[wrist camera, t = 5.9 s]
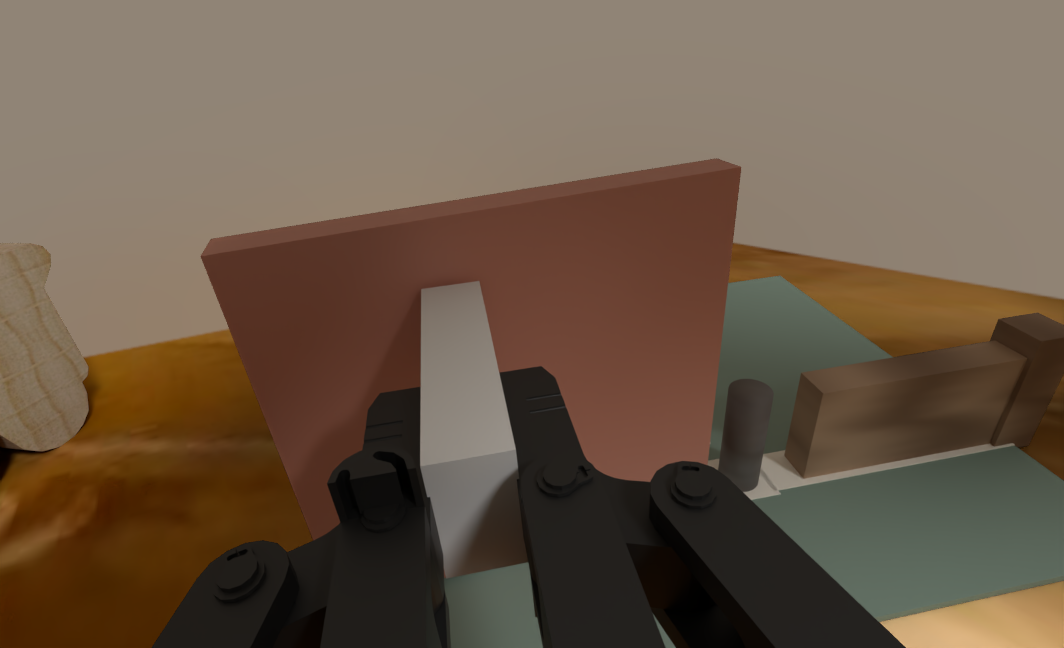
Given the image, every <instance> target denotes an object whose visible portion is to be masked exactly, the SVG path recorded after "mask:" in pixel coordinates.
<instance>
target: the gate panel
mask: <svg viewBox="0 0 1064 648" xmlns="http://www.w3.org/2000/svg"><path fill="white" fill-rule="evenodd" d="M740 173H741V167H740V166H737V165H734V164H731V163H728V162H725V161H722V160H720V159H710V160H704V161H698V162H692V163H685V164H680V165H673V166H666V167H660V168H654V169H647V170H641V171H635V172H629V173H622V174H617V175H610V176H604V177H598V178H591V179H585V180H578V181H572V182H566V183H560V184H554V185H547V186H541V187H535V188H528V189H522V190H516V191H510V192H503V193H497V194H490V195H484V196H478V197H472V198H465V199H459V200H453V201H447V202H441V203H434V204H428V205H421V206H415V207H409V208H403V209H397V210H390V211H384V212H378V213H371V214H365V215H359V216H353V217H346V218H340V219H333V220H327V221H321V222H315V223H308V224H302V225H296V226H289V227H283V228H277V229H271V230H264V231H258V232H252V233H246V234H239V235H233V236H227V237H221V238H214V239H211V240H210V241H209V243H208V245H207V246H206V248H205V250H204V251H203V253H202V255H201V259H202V261H203V263H204V266H205V269H206V271H207V274H208V276H209V279H210V281H211V284H212V286H213V289H214V291H215V294H216V296H217V299H218V301H219V304H220V307H221V309H222V311H223V314H224V317H225V319H226V321H227V324H228V327H229V329H230V332H231V334H232V337H233V339H234V342H235V344H236V347H237V349H238V352H239V354H240V357H241V359H242V362H243V364H244V367H245V369H246V372H247V375H248V377H249V380H250V382H251V385H252V387H253V390H254V392H255V395H256V397H257V400H258V402H259V405H260V407H261V410H262V412H263V415H264V417H265V420H266V422H267V425H268V427H269V430H270V432H271V435H272V438H273V440H274V443H275V445H276V448H277V450H278V453H279V455H280V458H281V460H282V463H283V465H284V468H285V470H286V473H287V475H288V478H289V480H290V483H291V485H292V488H293V490H294V493H295V495H296V498H297V501H298V503H299V506H300V508H301V511H302V513H303V516H304V518H305V521H306V523H307V526H308V528H309V531H310V533H311V536H312V538H313V541H314V540H316V539H318V538H319V537H321V536H323V535H325V534H327V533H328V532H330V531H331V530H332V529H333V528H335V527H336V526H337V525H339V524H340V520H339V517H338V514H337V511H336V508H335V506H334V503H333V500H332V497H331V494H330V491H329V489H328V486H327V482H328V480H329V478H330V476H331V473H332V471H333V470H334V469H335V468H336V467H337V466H338V465H339V464H340V463H341V462H342V461H343V460H345V459H346V458H348V457H350V456H351V455H353V454H355V453H357V452H358V451H362V448H363V444H364V434H365V430H366V420H367V413H368V409H369V407H370V406H371V405H372V403H373V402H374V400H375V399H376V398H377V396H378V395H379V394H380V393H384V392H390V391H396V390H402V389H409V388H415V387H421V289H425V288H432V287H439V286H446V285H453V284H461V283H468V282H475V281H479V282H480V286H481V291H482V296H483V300H484V305H485V309H486V314H487V319H488V323H489V328H490V333H491V337H492V342H493V346H494V351H495V356H496V360H497V365H498V369H499V373H500V372H506V371H512V370H519V369H525V368H531V367H538V366H542V367H543V368H544V369H546V370H547V371H548V372H549V373H550V374H552V375H553V376H554V377H555V378H556V381H557V383H558V386H559V389H560V392H561V396H562V397H563V400H564V402H565V405H566V408H567V410H568V413H569V416H570V419H571V421H572V424H573V427H574V429H575V432H576V435H577V437H578V440H579V443H580V446H581V448H582V451H583V454H584V455H585V457H586V459H587V461H589V462H590V463H592V464H593V466H594V467H595V469H597V470H598V471H600V472H602V473H603V474H605V475H608V476H611V477H614V478H618V479H624V480H633V481H646V482H650V481H651V479H652V478H653V476H654V474H655V473H656V471H657V470H659V469H660V468H662V467H664V466H665V465H667V464H670V463H674V462H679V461H691V462H699V463H702V464H705V465H708V456H709V447H710V439H711V430H712V421H713V412H714V403H715V395H716V386H717V377H718V368H719V359H720V350H721V342H722V333H723V324H724V315H725V306H726V298H727V289H728V280H729V271H730V262H731V254H732V245H733V236H734V227H735V218H736V210H737V200H738V192H739V183H740ZM444 578H446V575H445V571H444Z"/></svg>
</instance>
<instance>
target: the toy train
mask: <svg viewBox="0 0 1064 648" xmlns="http://www.w3.org/2000/svg"><path fill="white" fill-rule="evenodd" d="M50 257H51V256H50V253H49V252H48V251H47V250H46V249H45V248H44V247H43V246H39V245H35V244H31V243H29V244H26V243H25V244H24V243H16V244H15V243H0V448H11V449H21V450H32V451H46V450H50V449H54V448H58V447H60V446H61V445H63V444H64V443H66V442H67V441H68V440H70V439H71V438H72V437H74V436H75V435H76V433H77V432H78V431H79V429H80V428H81V427H82V425H83V424H84V421H85V419H86V416H87V413H88V411H89V407H88V397H87V392H86V389H85V387H84V385H83V383H82V381H83V380H84V379H85V378H86V377H87V376H88V365H87V364H86V362H85V360H84V358H83V357H82V355H81V353H80V351H79V349H78V348H77V346H76V344H75V342H74V341H73V339H72V337H71V335H70V334H69V332H68V330H67V328H66V326H65V325H64V323H63V321H62V319H61V318H60V316H59V314H58V312H57V310H56V309H55V307H54V305H53V303H52V301H51V300H50V298H49V296H48V295H47V293H46V291H45V289H44V286H45V283H46V280H47V277H48V273H49V270H50V267H51V258H50Z"/></svg>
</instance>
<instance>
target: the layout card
mask: <svg viewBox="0 0 1064 648" xmlns="http://www.w3.org/2000/svg"><path fill="white" fill-rule="evenodd" d="M887 358H893V357H892V356H890V355H889V354H888V353H886V352H885V351H883V350H882V349H881V348H879V347H878V346H876V345H875V344H874V343H872V342H871V341H870V340H868V339H867V338H865V337H864V336H863V335H861V334H860V333H858V332H857V331H856V330H854V329H853V328H852V327H850V326H849V325H847V324H846V323H845V322H843V321H842V320H840V319H839V318H838V317H836V316H835V315H834V314H832V313H831V312H829V311H828V310H827V309H825V308H824V307H822V306H821V305H820V304H818V303H817V302H816V301H814V300H813V299H811V298H810V297H809V296H807V295H806V294H805V293H803V292H802V291H800V290H799V289H798V288H796V287H795V286H793V285H792V284H791V283H789V282H788V281H787V280H785V279H784V278H782V277H781V276H775V277H768V278H761V279H754V280H748V281H741V282H734V283H728V289H727V298H726V306H725V315H724V324H723V333H722V342H721V350H720V359H719V368H718V377H717V386H716V395H715V403H714V412H713V421H712V430H711V439H710V447H709V456H708V466H711V467H714V468H715V469H717V470H718V467H719V459H720V451H721V443H722V435H723V427H724V419H725V411H726V404H727V396H728V388H729V385H730V384H731V383H732V382H733V381H735V380H739V379H754V380H758V381H761V382H763V383H765V384H767V385H768V386H769V387H770V388H771V389H772V390H773V392H774V397H773V402H772V408H771V414H770V419H769V425H768V430H767V436H766V442H765V447H764V453H763V458H762V464H761V470H760V475H759V481H758V485H757V487H756V488H755V489H753V490H751V491H748V492H743V493H744V494H745V495H747V496H748V497H749V498H750V499H751V500H752V501H753V502H754V503H755V504H756V505H757V506H758V507H759V508H760V509H761V510H762V511H763V512H764V513H765V514H766V515H767V516H769V517H770V518H771V519H772V520H773V521H774V522H775V523H776V524H777V525H778V526H779V527H780V528H781V529H782V530H783V531H784V532H785V533H786V534H787V535H788V536H789V537H790V538H792V539H793V540H794V541H795V542H796V543H797V544H798V545H799V546H800V547H801V548H802V549H803V550H804V551H805V552H806V553H807V554H808V555H809V556H810V557H811V558H812V559H813V560H815V561H816V562H817V563H818V564H819V565H820V566H821V567H822V568H823V569H824V570H825V571H826V572H827V573H828V574H829V575H830V576H831V577H832V578H833V579H834V580H835V581H837V582H838V583H839V584H840V585H841V586H842V587H843V588H844V589H845V590H846V591H847V592H848V593H849V594H850V595H851V596H852V597H853V598H854V599H855V600H856V601H857V602H858V603H860V604H861V605H862V606H863V607H864V608H865V609H866V610H867V611H868V612H869V613H870V614H871V615H872V616H873V617H874V618H875V619H876V620H877V621H878V622H881V621H885V620H890V619H894V618H899V617H903V616H908V615H912V614H916V613H921V612H925V611H930V610H934V609H939V608H943V607H948V606H952V605H957V604H961V603H966V602H970V601H974V600H979V599H983V598H988V597H992V596H997V595H1001V594H1006V593H1010V592H1015V591H1019V590H1024V589H1028V588H1033V587H1037V586H1041V585H1046V584H1050V583H1055V582H1059V581H1064V481H1063V480H1062V479H1060V478H1059V477H1058V476H1056V475H1055V474H1054V473H1052V472H1051V471H1049V470H1048V469H1047V468H1045V467H1044V466H1042V465H1041V464H1040V463H1038V462H1037V461H1036V460H1034V459H1033V458H1031V457H1030V456H1029V455H1027V454H1026V453H1024V452H1023V451H1022V450H1020V449H1019V448H1018V447H1016V446H1015V444H1013V443H1011V444H1006V445H1000V446H995V447H994V446H992V445H991V444H985V445H980V446H974V447H969V448H964V449H959V450H953V451H948V452H943V453H938V454H932V455H927V456H922V457H916V458H911V459H906V460H901V461H895V462H890V463H885V464H879V465H874V466H869V467H864V468H858V469H853V470H848V471H843V472H837V473H832V474H827V475H821V476H816V477H811V478H806V479H803V478H802V477H801V475H800V474H799V473H798V472H797V471H796V469H795V468H794V467H793V466H792V465H791V463H790V462H789V461H788V460H787V458H786V457H785V456H784V454H785V449H786V445H787V440H788V435H789V430H790V425H791V420H792V415H793V410H794V405H795V400H796V395H797V390H798V386H799V381H800V376H801V373H802V372H808V371H814V370H820V369H826V368H832V367H838V366H844V365H851V364H857V363H863V362H869V361H875V360H881V359H887ZM444 586H445V593H446V597H447V601H448V606H449V618H450V639H451V648H543V645H542V640H541V635H540V629H539V624H538V619H537V617H535V611H534V602H533V593H532V584H531V576H530V568H529V563H528V562H527V563H522V564H517V565H512V566H507V567H502V568H497V569H492V570H487V571H482V572H477V573H472V574H467V575H462V576H457V577H452V578H447V579H446V578H444ZM653 616H654V615H653ZM654 618H655V616H654ZM655 621H656V624H657V626H658V629H659V631H660V634H661V637H662V639H663V642H664V645H665V647H666V648H676V647H675V646H674V644H673V643H672V641H671V640H670V638H669V637H668V635H667V634H666V632H665V631H664V629H663V628H662V627H661V625H660V624H659V622H658V621H657V619H656V618H655Z"/></svg>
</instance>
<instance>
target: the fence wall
mask: <svg viewBox="0 0 1064 648" xmlns="http://www.w3.org/2000/svg"><path fill="white" fill-rule="evenodd" d="M1063 374H1064V325H1062V324H1060V323H1058V322H1056V321H1054V320H1052V319H1050V318H1048V317H1046V316H1044V315H1042V314H1039V313H1033V314H1027V315H1020V316H1014V317H1008V318H1002V319H998V322H997V324H996V327H995V330H994V332H993V335H992V337H991V340H990V341H989V342H983V343H977V344H971V345H965V346H959V347H953V348H947V349H941V350H935V351H929V352H923V353H917V354H911V355H905V356H899V357H893V358H887V359H881V360H875V361H869V362H863V363H857V364H851V365H844V366H838V367H832V368H826V369H820V370H814V371H808V372H802V373H801V376H800V381H799V386H798V390H797V395H796V400H795V405H794V410H793V415H792V420H791V425H790V430H789V435H788V440H787V445H786V449H785V454H784V456H785V457H786V458H787V460H788V461H789V462H790V463H791V465H792V466H793V467H794V468H795V469H796V471H797V472H798V473H799V474H800V475H801V477H802V478H803V479H806V478H811V477H816V476H821V475H827V474H832V473H837V472H843V471H848V470H853V469H858V468H864V467H869V466H874V465H879V464H885V463H890V462H895V461H901V460H906V459H911V458H916V457H922V456H927V455H932V454H938V453H943V452H948V451H953V450H959V449H964V448H969V447H974V446H980V445H985V444H991V445H992V446H994V447H995V446H1000V445H1006V444H1011V443H1013V444H1015V446H1016V447H1018V448H1019V447H1024V446H1029V444H1030V442H1031V439H1032V437H1033V435H1034V433H1035V431H1036V429H1037V427H1038V425H1039V423H1040V421H1041V419H1042V417H1043V415H1044V413H1045V411H1046V409H1047V407H1048V405H1049V403H1050V401H1051V399H1052V397H1053V394H1054V392H1055V390H1056V388H1057V386H1058V384H1059V382H1060V380H1061V378H1062V376H1063ZM773 397H774V392H773V390H772V389H771V388H770V387H769V386H768V385H767V384H765V383H763V382H761V381H758V380H754V379H739V380H735V381H733V382H732V383H731V384H730V385H729V388H728V396H727V404H726V411H725V419H724V427H723V435H722V443H721V451H720V459H719V467H718V471H720V472H721V473H722V474H724V475H725V476H727V477H728V478H729V479H730V480H731V481H732V482H733V483H734V484H735V485H736V486H737V487H738V488H739V489H740V490H741V491H742V492H748V491H751V490H753V489H755V488H756V487H757V485H758V481H759V475H760V470H761V464H762V458H763V453H764V447H765V442H766V436H767V430H768V425H769V419H770V414H771V408H772V402H773Z"/></svg>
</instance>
